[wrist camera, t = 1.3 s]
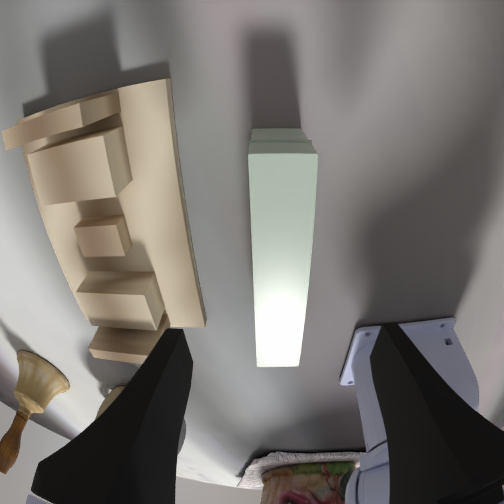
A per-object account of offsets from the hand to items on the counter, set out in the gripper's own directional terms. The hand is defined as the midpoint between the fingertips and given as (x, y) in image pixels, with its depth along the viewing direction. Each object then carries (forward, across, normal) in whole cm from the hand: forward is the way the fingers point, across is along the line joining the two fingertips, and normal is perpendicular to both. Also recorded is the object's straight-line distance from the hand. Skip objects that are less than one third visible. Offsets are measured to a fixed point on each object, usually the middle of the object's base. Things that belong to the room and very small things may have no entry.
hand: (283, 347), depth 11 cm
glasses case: (+8, 0, 0) cm, 8 cm away
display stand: (+8, +10, -1) cm, 13 cm away
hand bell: (+8, +29, +19) cm, 36 cm away
